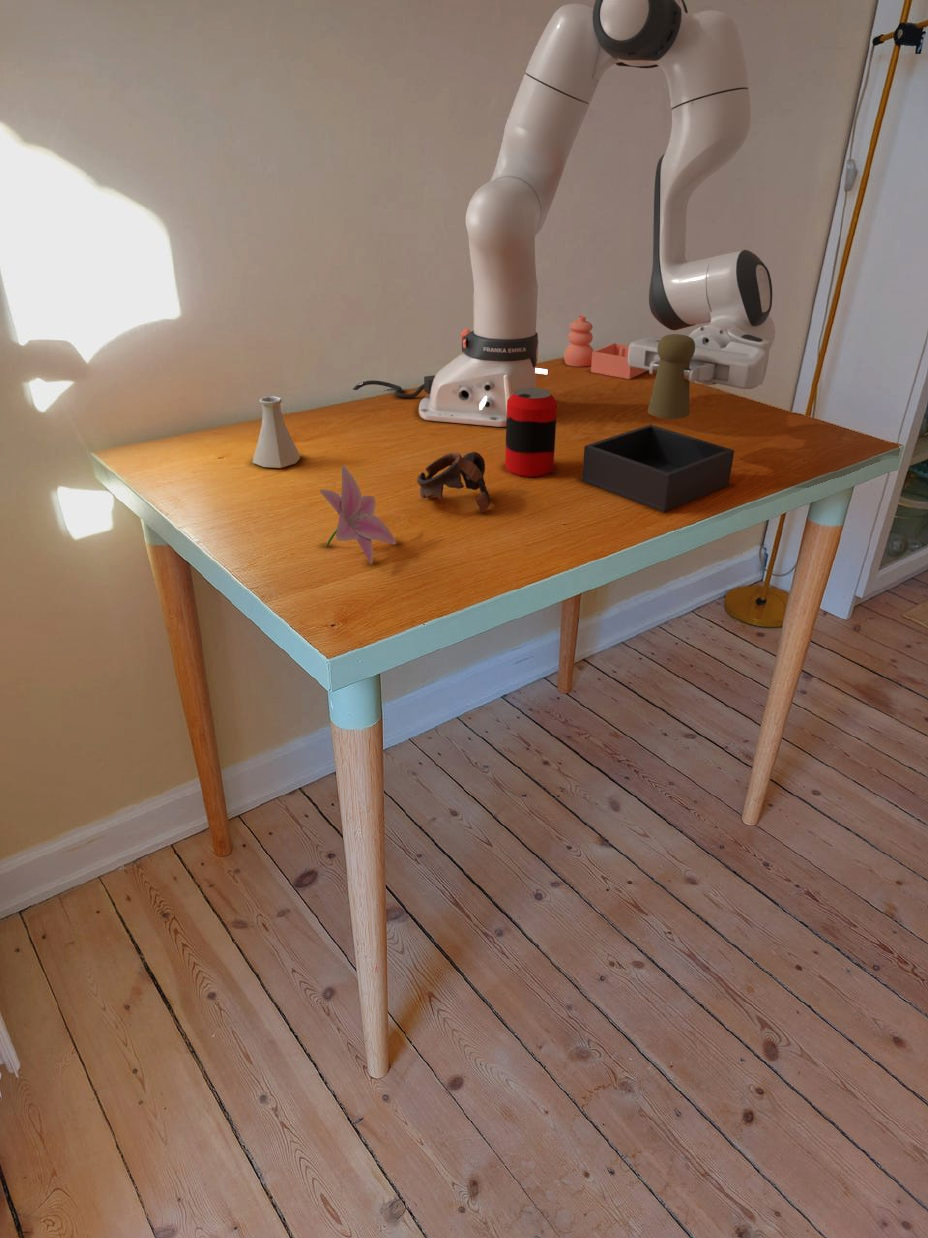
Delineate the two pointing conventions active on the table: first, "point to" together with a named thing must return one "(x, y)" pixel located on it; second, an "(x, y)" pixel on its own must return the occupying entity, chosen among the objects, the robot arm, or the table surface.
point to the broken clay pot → (456, 476)
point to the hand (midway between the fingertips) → (670, 372)
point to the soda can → (530, 432)
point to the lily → (357, 516)
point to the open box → (657, 467)
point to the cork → (672, 378)
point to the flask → (274, 437)
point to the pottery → (597, 353)
